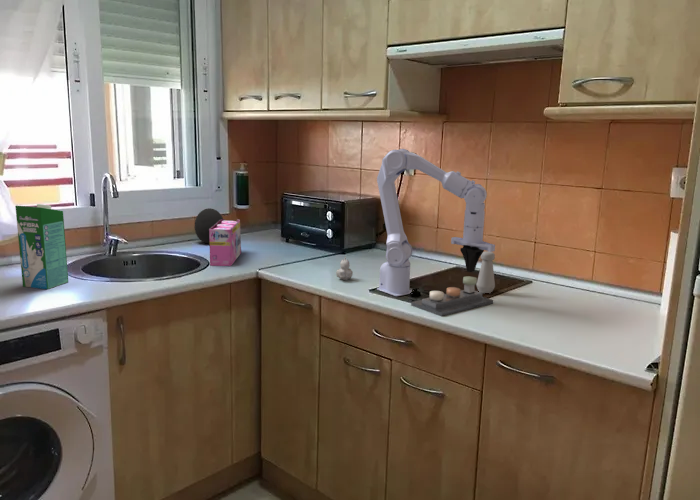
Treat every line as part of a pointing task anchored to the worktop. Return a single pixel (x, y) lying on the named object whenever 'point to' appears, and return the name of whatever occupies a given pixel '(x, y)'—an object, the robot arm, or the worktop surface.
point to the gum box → (224, 242)
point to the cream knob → (436, 295)
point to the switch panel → (453, 303)
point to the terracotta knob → (453, 292)
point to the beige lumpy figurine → (344, 270)
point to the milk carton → (42, 246)
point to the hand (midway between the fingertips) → (470, 271)
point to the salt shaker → (486, 273)
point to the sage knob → (469, 284)
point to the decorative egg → (206, 223)
